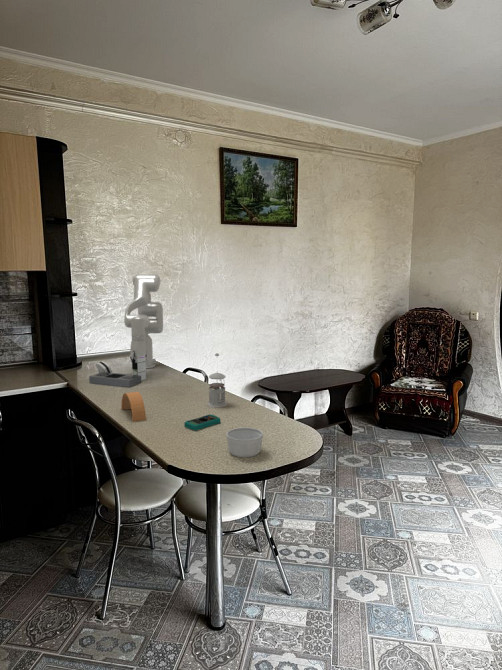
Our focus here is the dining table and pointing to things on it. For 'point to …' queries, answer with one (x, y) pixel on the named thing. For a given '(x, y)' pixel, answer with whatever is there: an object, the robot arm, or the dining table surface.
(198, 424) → the digital multimeter
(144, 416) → the arch
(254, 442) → the ramekin
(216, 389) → the french press
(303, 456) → the dining table surface
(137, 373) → the syrup box
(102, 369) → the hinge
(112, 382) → the gray compartment tray
